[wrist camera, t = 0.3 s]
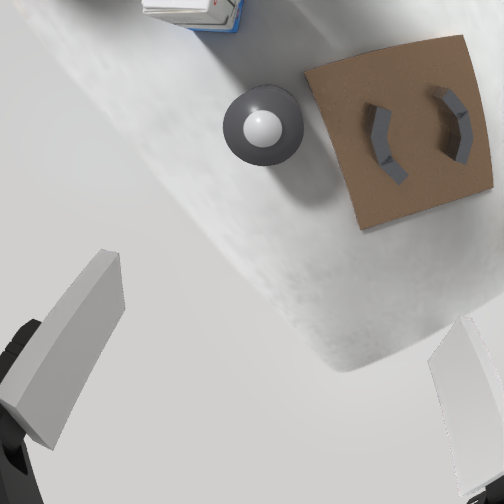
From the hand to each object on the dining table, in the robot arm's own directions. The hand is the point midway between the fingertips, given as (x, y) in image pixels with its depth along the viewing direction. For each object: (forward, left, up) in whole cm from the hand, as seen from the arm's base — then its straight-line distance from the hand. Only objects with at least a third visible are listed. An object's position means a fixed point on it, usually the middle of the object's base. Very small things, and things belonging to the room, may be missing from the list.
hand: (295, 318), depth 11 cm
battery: (-4, -1, -24) cm, 24 cm away
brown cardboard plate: (+2, +13, -24) cm, 27 cm away
